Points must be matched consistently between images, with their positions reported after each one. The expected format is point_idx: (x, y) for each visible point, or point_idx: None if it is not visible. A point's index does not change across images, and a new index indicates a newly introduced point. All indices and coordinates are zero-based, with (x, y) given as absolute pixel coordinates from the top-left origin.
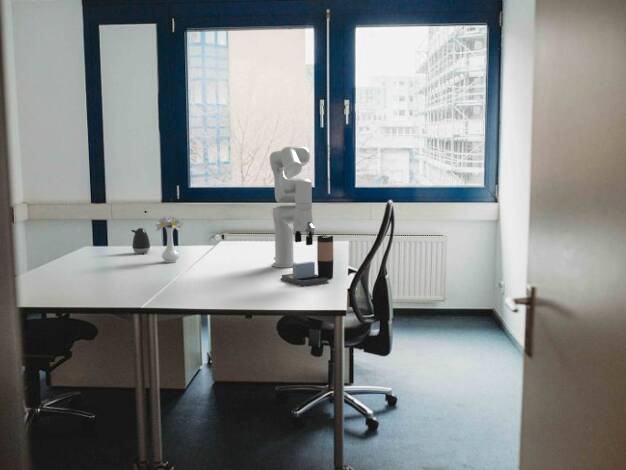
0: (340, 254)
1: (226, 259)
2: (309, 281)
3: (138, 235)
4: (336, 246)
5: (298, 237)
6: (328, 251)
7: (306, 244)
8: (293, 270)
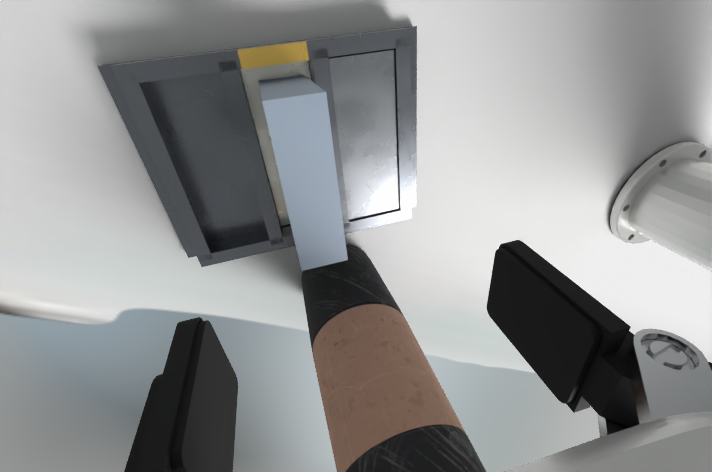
0: None
1: None
2: (149, 142)
3: None
4: None
5: (533, 322)
6: (324, 407)
7: (181, 325)
8: (305, 84)
